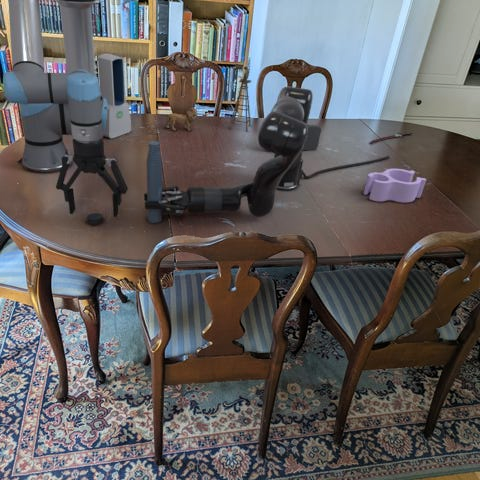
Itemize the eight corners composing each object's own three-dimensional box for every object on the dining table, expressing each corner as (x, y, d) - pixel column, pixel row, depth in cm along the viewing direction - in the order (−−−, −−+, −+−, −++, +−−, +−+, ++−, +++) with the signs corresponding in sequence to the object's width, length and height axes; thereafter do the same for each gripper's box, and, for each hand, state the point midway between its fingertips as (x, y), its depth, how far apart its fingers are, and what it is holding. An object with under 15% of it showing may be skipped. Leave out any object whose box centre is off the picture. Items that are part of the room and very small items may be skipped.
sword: (407, 132, 223) (408, 129, 223) (413, 134, 221) (413, 131, 221) (364, 143, 208) (365, 141, 207) (370, 146, 206) (370, 143, 205)
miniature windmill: (247, 131, 204) (254, 60, 188) (228, 128, 205) (234, 57, 189) (250, 125, 212) (258, 55, 196) (232, 122, 213) (238, 53, 197)
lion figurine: (195, 126, 204) (195, 105, 199) (198, 130, 200) (199, 109, 195) (161, 127, 199) (161, 106, 194) (164, 131, 195) (164, 110, 190)
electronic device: (109, 139, 182) (104, 59, 166) (96, 134, 185) (89, 55, 169) (132, 131, 192) (129, 55, 175) (118, 127, 195) (114, 51, 178)
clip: (376, 205, 156) (381, 186, 152) (357, 188, 166) (361, 170, 162) (425, 200, 162) (431, 182, 159) (404, 184, 172) (409, 167, 168)
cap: (84, 221, 131) (83, 216, 130) (95, 216, 134) (95, 211, 133) (94, 226, 129) (94, 221, 128) (105, 221, 132) (105, 215, 131)
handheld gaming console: (315, 147, 196) (319, 124, 190) (317, 149, 194) (322, 126, 188) (264, 149, 189) (267, 125, 183) (266, 152, 187) (269, 127, 181)
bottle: (151, 214, 138) (150, 138, 125) (164, 217, 137) (164, 141, 124) (145, 221, 134) (143, 143, 122) (157, 224, 134) (157, 146, 121)
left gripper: (35, 139, 114) (46, 216, 126) (132, 147, 116) (134, 222, 128) (45, 129, 121) (55, 203, 133) (137, 136, 122) (139, 209, 134)
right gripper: (201, 177, 139) (143, 178, 135) (209, 200, 128) (145, 201, 124) (200, 199, 143) (143, 200, 140) (207, 223, 132) (145, 225, 128)
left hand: (94, 213), depth 130 cm, fingers open, 11 cm apart
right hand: (144, 201), depth 132 cm, fingers closed on bottle, 4 cm apart
